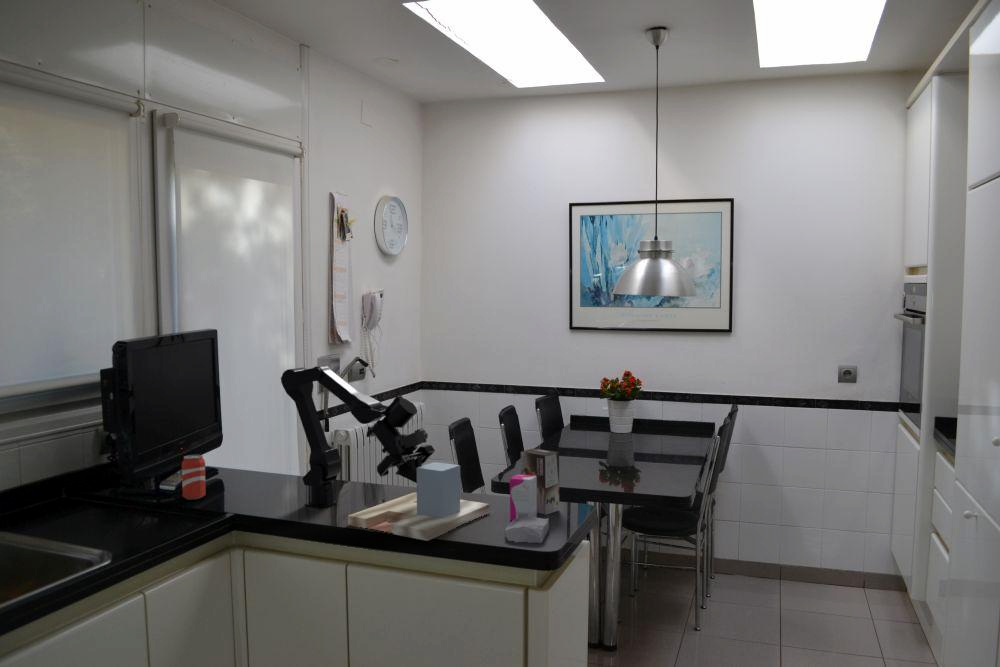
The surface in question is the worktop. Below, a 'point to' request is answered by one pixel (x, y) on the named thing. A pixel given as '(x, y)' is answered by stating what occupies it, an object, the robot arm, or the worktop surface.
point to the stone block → (527, 530)
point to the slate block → (438, 489)
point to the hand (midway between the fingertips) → (424, 485)
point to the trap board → (414, 518)
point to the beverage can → (193, 477)
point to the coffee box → (543, 477)
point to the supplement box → (523, 496)
